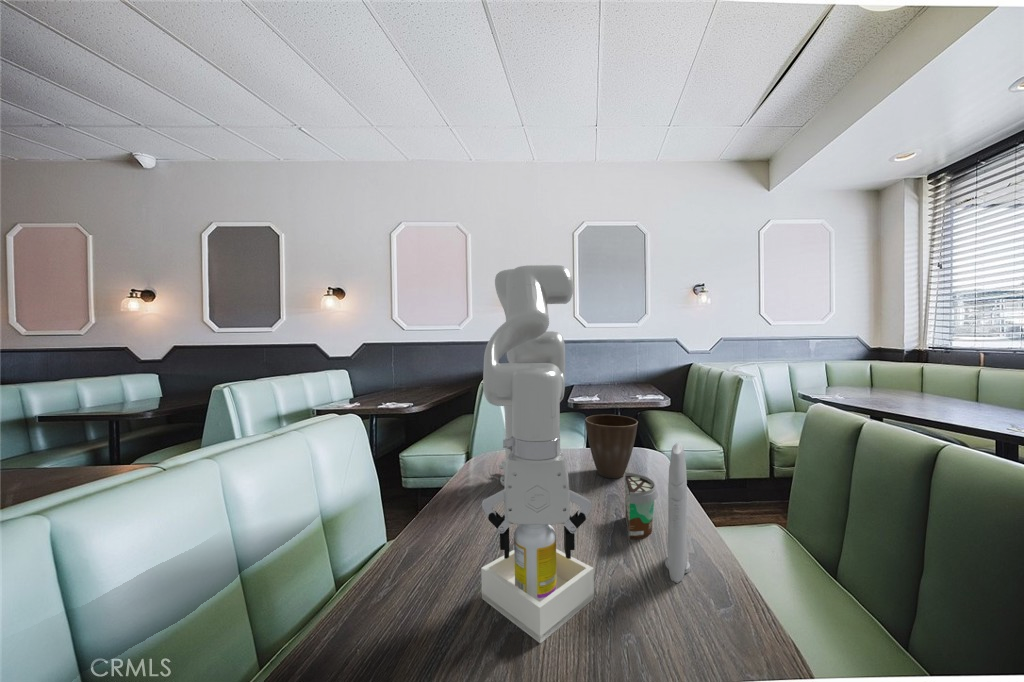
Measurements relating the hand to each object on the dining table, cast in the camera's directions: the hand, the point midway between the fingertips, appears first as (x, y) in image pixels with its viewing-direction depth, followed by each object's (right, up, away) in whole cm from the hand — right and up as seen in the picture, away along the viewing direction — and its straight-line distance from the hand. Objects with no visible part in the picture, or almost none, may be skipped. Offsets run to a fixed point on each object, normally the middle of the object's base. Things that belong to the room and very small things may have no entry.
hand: (537, 553), depth 62 cm
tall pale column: (+26, -7, +8) cm, 28 cm away
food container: (+24, -7, +22) cm, 33 cm away
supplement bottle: (0, -6, 0) cm, 7 cm away
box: (0, -7, 0) cm, 7 cm away
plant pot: (+25, -6, +53) cm, 59 cm away
